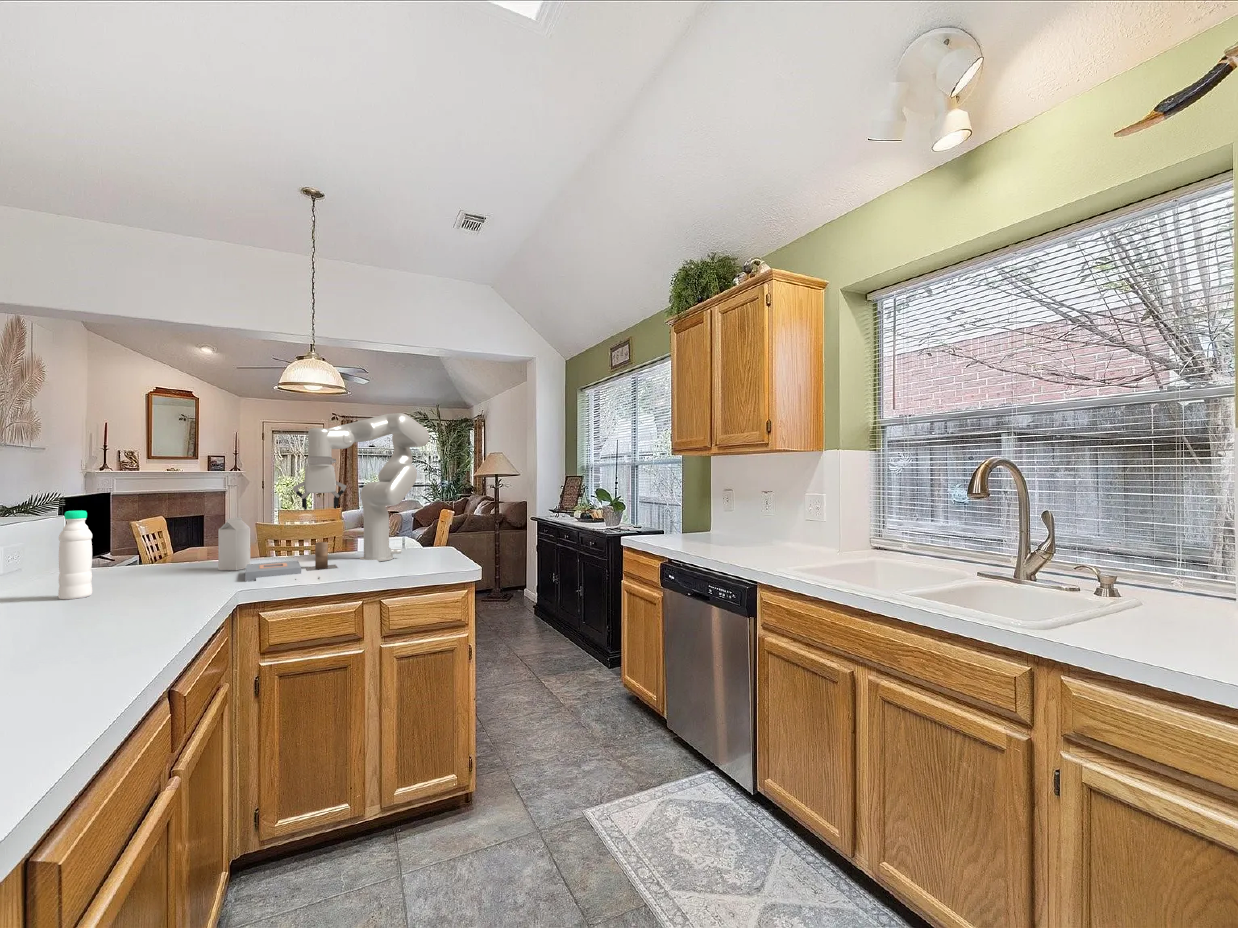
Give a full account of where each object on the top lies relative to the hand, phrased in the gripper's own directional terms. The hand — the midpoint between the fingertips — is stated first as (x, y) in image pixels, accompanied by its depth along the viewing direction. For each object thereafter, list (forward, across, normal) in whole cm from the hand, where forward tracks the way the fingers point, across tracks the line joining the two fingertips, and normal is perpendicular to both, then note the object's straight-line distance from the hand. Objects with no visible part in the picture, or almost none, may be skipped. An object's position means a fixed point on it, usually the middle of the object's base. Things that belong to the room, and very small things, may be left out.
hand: (320, 509), depth 207 cm
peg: (+21, 0, 0) cm, 21 cm away
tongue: (+22, 0, 0) cm, 22 cm away
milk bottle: (+22, +64, +11) cm, 68 cm away
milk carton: (+22, +27, -22) cm, 42 cm away
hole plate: (+22, +15, +1) cm, 27 cm away
